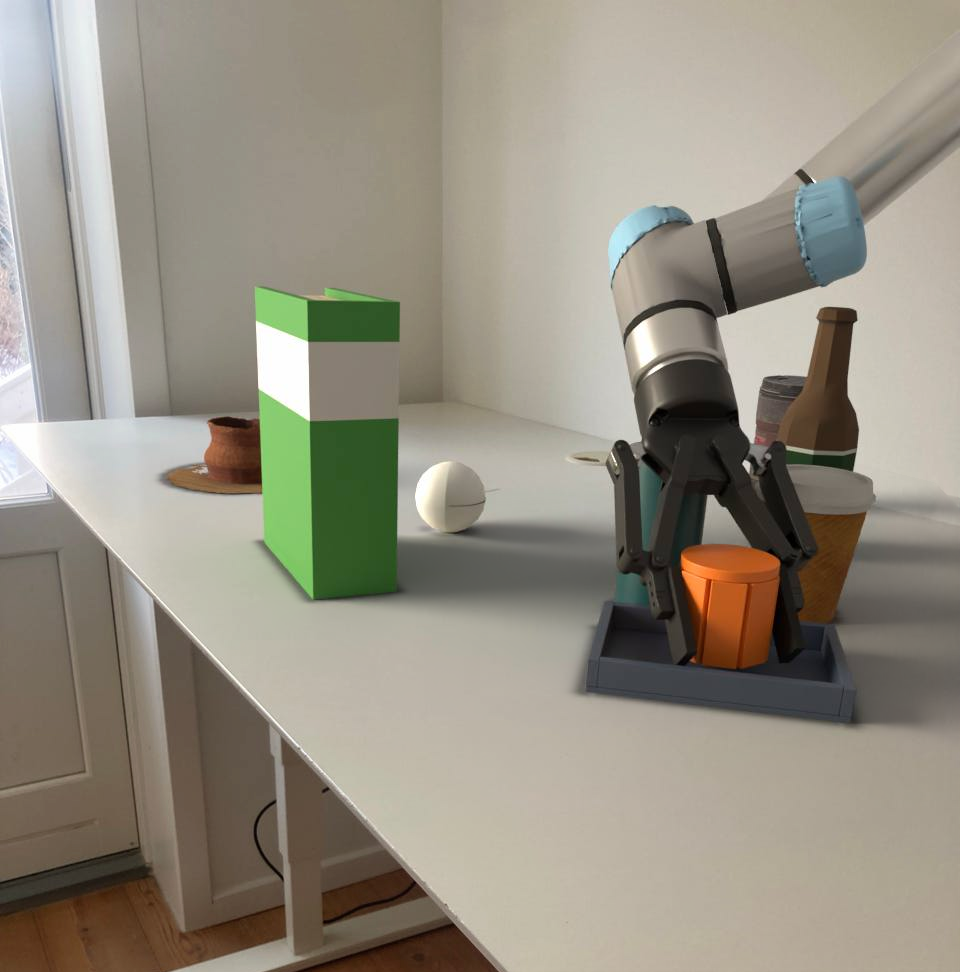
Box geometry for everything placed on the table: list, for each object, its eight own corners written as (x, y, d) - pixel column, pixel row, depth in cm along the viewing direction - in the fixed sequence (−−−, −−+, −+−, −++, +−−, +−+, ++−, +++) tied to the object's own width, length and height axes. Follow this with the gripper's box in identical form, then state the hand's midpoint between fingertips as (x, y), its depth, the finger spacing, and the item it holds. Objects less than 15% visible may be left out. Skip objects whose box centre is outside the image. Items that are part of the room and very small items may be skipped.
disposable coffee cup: (819, 594, 93) (842, 463, 89) (874, 632, 84) (902, 489, 80) (720, 596, 91) (738, 462, 87) (766, 635, 83) (789, 489, 78)
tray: (829, 655, 79) (834, 624, 78) (850, 725, 68) (856, 690, 67) (601, 630, 82) (604, 600, 81) (584, 693, 71) (587, 659, 70)
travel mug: (730, 503, 124) (747, 377, 119) (767, 494, 130) (785, 373, 124) (789, 517, 119) (809, 386, 113) (825, 508, 124) (846, 381, 119)
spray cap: (763, 638, 77) (777, 548, 74) (769, 673, 71) (783, 576, 68) (672, 628, 78) (682, 539, 75) (669, 662, 72) (680, 566, 69)
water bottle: (692, 605, 89) (715, 419, 83) (691, 632, 83) (716, 433, 77) (616, 597, 90) (633, 413, 84) (610, 623, 84) (628, 427, 78)
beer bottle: (794, 563, 102) (835, 310, 93) (745, 542, 108) (779, 304, 100) (854, 556, 105) (899, 311, 96) (803, 536, 112) (841, 305, 103)
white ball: (430, 544, 103) (432, 471, 100) (404, 525, 109) (405, 456, 107) (519, 536, 107) (523, 466, 104) (489, 518, 113) (492, 452, 111)
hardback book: (264, 544, 101) (254, 286, 92) (337, 538, 104) (334, 288, 95) (313, 601, 86) (307, 300, 77) (396, 592, 89) (400, 302, 80)
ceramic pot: (280, 458, 138) (279, 405, 135) (339, 486, 124) (338, 428, 122) (146, 469, 129) (142, 413, 126) (193, 501, 115) (189, 438, 112)
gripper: (780, 414, 85) (847, 672, 76) (545, 413, 81) (585, 683, 72) (822, 356, 78) (900, 631, 69) (566, 351, 74) (614, 641, 66)
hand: (739, 657), depth 71 cm, fingers closed on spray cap, 7 cm apart
